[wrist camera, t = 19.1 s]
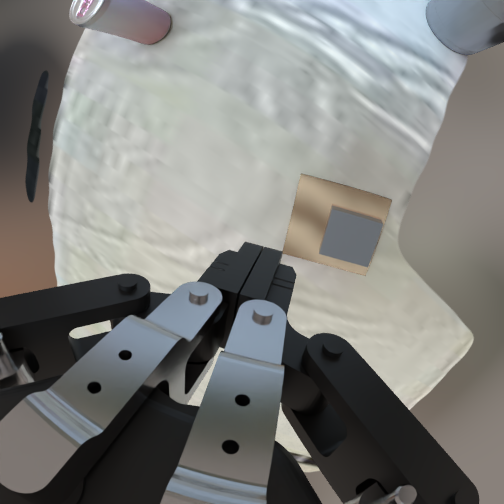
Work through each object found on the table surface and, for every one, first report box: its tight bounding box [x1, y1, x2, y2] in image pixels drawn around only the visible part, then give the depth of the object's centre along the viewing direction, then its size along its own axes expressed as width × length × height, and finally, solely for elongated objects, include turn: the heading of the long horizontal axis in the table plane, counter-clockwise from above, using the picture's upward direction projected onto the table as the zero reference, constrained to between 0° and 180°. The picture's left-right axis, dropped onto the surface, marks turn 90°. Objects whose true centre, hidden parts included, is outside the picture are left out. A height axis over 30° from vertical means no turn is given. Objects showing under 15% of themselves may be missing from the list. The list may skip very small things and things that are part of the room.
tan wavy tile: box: [283, 174, 392, 276], centre depth 37 cm, size 11×12×1 cm
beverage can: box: [69, 0, 171, 44], centre depth 24 cm, size 6×6×15 cm
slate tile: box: [319, 204, 383, 267], centre depth 35 cm, size 6×2×7 cm
